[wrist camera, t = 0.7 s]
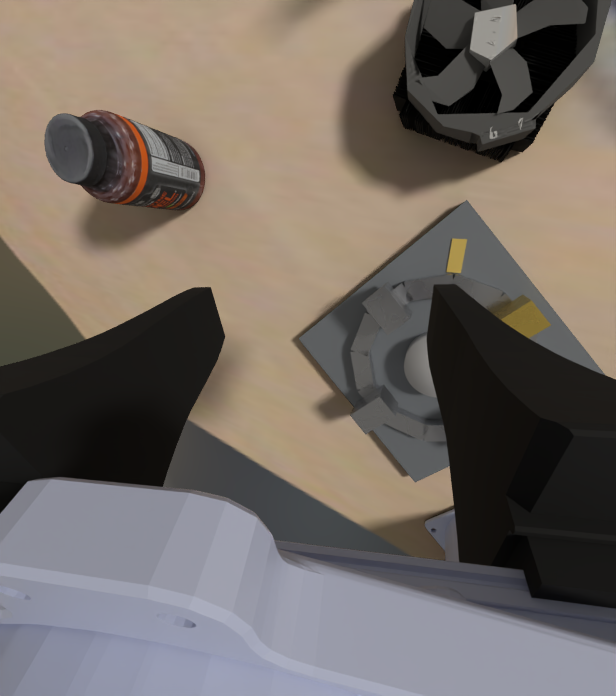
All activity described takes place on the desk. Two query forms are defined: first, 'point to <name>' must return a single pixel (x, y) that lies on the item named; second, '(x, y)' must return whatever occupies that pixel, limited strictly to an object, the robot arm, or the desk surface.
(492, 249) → the cap plate
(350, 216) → the desk surface
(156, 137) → the supplement bottle
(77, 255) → the desk surface
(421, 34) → the cpu cooler
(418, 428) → the ring nut
